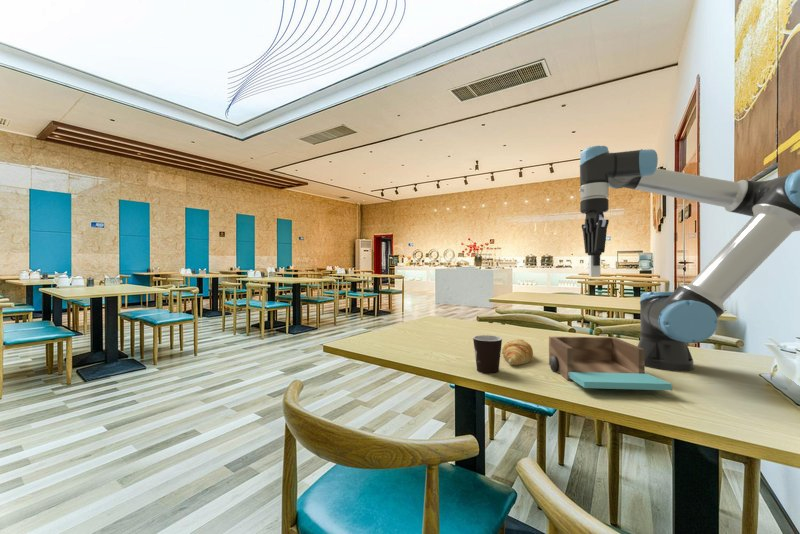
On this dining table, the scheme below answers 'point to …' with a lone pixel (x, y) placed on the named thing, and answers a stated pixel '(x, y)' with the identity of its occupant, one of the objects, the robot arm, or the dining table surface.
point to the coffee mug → (487, 353)
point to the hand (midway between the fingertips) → (594, 276)
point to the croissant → (517, 352)
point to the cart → (594, 355)
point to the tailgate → (619, 381)
